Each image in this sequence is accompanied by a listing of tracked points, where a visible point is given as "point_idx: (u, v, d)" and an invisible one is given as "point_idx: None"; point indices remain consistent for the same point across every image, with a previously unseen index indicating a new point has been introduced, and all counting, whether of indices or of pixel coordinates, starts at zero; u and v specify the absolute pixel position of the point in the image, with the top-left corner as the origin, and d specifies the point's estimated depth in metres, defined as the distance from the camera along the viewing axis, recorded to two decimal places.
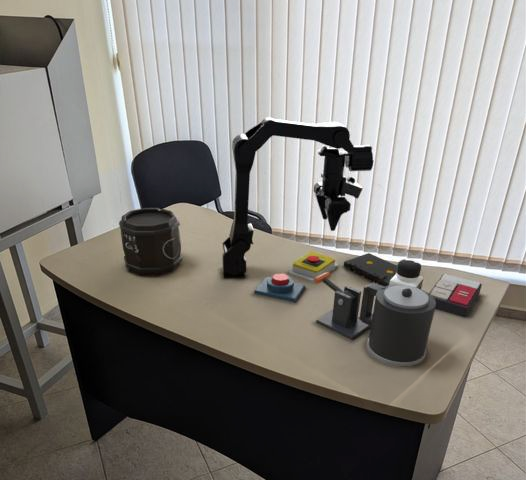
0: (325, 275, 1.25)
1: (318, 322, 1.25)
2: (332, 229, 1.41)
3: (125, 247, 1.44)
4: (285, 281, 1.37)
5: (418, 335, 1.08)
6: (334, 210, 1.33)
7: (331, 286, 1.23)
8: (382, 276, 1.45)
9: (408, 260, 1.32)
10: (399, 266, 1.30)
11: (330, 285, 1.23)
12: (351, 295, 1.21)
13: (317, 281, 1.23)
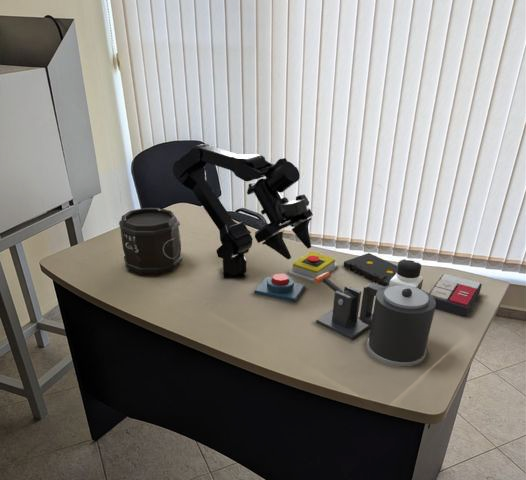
0: (325, 275, 1.25)
1: (318, 322, 1.25)
2: (287, 257, 1.27)
3: (125, 247, 1.44)
4: (285, 281, 1.37)
5: (418, 335, 1.08)
6: (260, 240, 1.24)
7: (331, 286, 1.23)
8: (382, 276, 1.45)
9: (408, 260, 1.32)
10: (399, 266, 1.30)
11: (330, 285, 1.23)
12: (351, 295, 1.21)
13: (317, 281, 1.23)
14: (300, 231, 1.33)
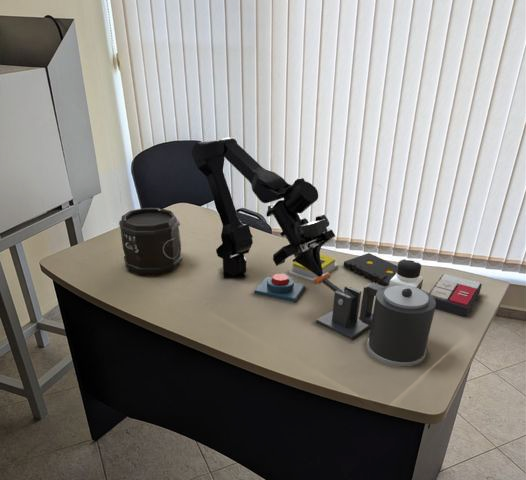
0: (325, 276, 1.25)
1: (318, 322, 1.25)
2: (318, 274, 1.25)
3: (125, 247, 1.44)
4: (285, 281, 1.37)
5: (418, 335, 1.08)
6: (278, 262, 1.20)
7: (331, 286, 1.23)
8: (382, 276, 1.45)
9: (408, 260, 1.32)
10: (399, 266, 1.30)
11: (330, 285, 1.23)
12: (351, 295, 1.21)
13: (317, 282, 1.23)
14: None
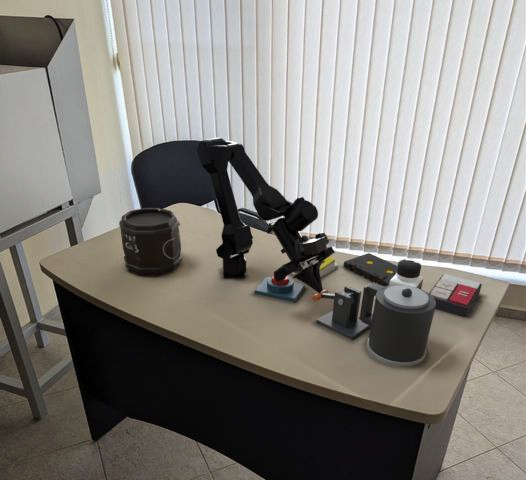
0: (322, 291, 1.27)
1: (318, 322, 1.25)
2: (318, 291, 1.27)
3: (125, 247, 1.44)
4: (285, 281, 1.37)
5: (418, 335, 1.08)
6: (278, 279, 1.23)
7: (330, 296, 1.25)
8: (382, 276, 1.45)
9: (408, 260, 1.32)
10: (399, 266, 1.30)
11: (328, 296, 1.25)
12: (349, 293, 1.21)
13: (315, 298, 1.26)
14: None
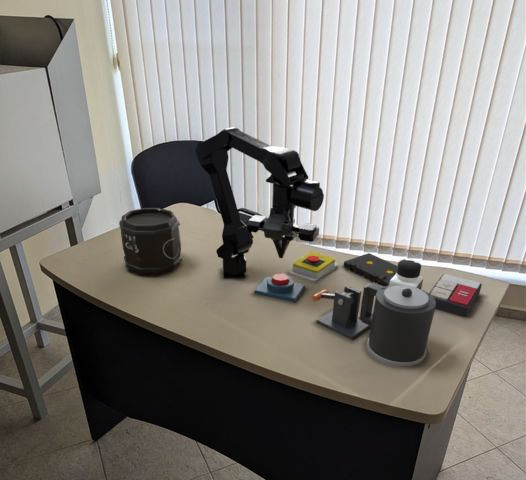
0: (322, 291, 1.27)
1: (318, 322, 1.25)
2: None
3: (125, 247, 1.44)
4: (285, 281, 1.37)
5: (418, 335, 1.08)
6: None
7: (330, 296, 1.25)
8: (382, 276, 1.45)
9: (408, 260, 1.32)
10: (399, 266, 1.30)
11: (328, 296, 1.25)
12: (349, 293, 1.21)
13: (315, 298, 1.26)
14: None
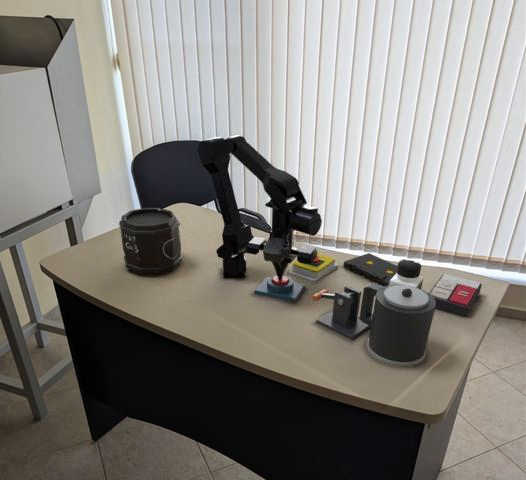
0: (322, 291, 1.27)
1: (318, 322, 1.25)
2: None
3: (125, 247, 1.44)
4: (285, 283, 1.37)
5: (418, 335, 1.08)
6: None
7: (330, 296, 1.25)
8: (382, 276, 1.45)
9: (408, 260, 1.32)
10: (399, 266, 1.30)
11: (328, 296, 1.25)
12: (349, 293, 1.21)
13: (315, 298, 1.26)
14: None
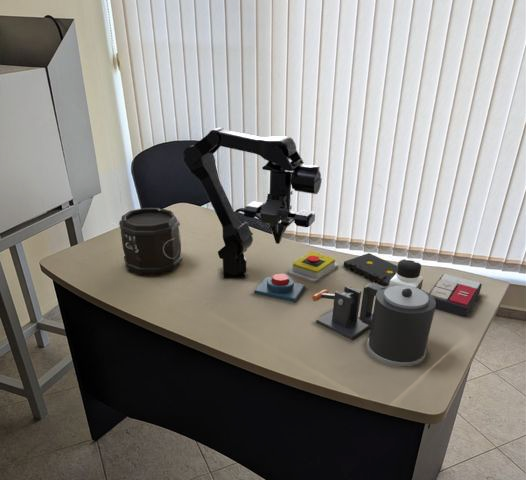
0: (322, 291, 1.27)
1: (318, 322, 1.25)
2: None
3: (125, 247, 1.44)
4: (285, 281, 1.37)
5: (418, 335, 1.08)
6: None
7: (330, 296, 1.25)
8: (382, 276, 1.45)
9: (408, 260, 1.32)
10: (399, 266, 1.30)
11: (328, 296, 1.25)
12: (349, 293, 1.21)
13: (315, 298, 1.26)
14: None
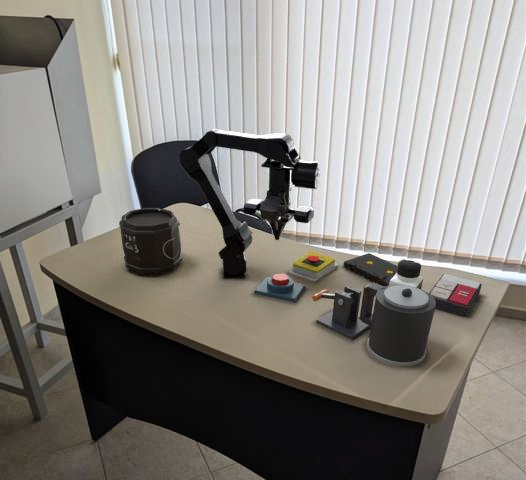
0: (322, 291, 1.27)
1: (318, 322, 1.25)
2: None
3: (125, 247, 1.44)
4: (285, 281, 1.37)
5: (418, 335, 1.08)
6: None
7: (330, 296, 1.25)
8: (382, 276, 1.45)
9: (408, 260, 1.32)
10: (399, 266, 1.30)
11: (328, 296, 1.25)
12: (349, 293, 1.21)
13: (315, 298, 1.26)
14: None
